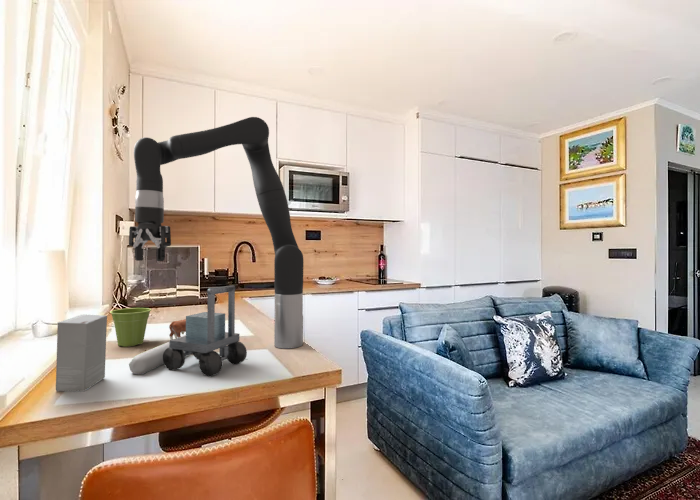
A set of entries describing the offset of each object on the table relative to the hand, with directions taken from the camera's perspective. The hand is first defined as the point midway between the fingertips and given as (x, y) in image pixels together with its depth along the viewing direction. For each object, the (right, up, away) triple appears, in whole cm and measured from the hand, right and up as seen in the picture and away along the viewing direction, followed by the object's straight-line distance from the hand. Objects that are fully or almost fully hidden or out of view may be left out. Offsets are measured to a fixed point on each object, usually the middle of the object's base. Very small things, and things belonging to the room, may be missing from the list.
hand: (149, 260), depth 109 cm
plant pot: (-12, -28, +11) cm, 33 cm away
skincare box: (-2, -29, -25) cm, 38 cm away
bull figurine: (+3, -28, +18) cm, 34 cm away
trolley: (+21, -28, -11) cm, 37 cm away
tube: (+8, -29, -6) cm, 30 cm away
